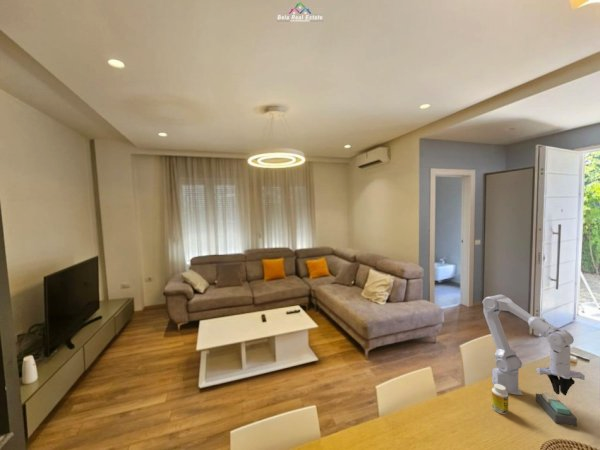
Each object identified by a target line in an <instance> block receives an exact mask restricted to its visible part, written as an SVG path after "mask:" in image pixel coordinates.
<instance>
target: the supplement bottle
mask: <svg viewBox="0 0 600 450" xmlns="http://www.w3.org/2000/svg"><path fill="white" fill-rule="evenodd" d="M491 407H492V409H493V410H494V411H495V412H497V413H498V414H501V415H507V414H508V413H509V393H507V392H506V388H505V387H504V386H503V385H501V384H493V387H492V388H491Z"/></svg>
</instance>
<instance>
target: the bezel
mask: <svg viewBox="0 0 600 450" xmlns="http://www.w3.org/2000/svg"><path fill="white" fill-rule="evenodd" d="M536 399H537V400H538V402H539V403H540V404H541V405H542V406H543V407H544V408H545V410H546V411H547V412H548V413H549V414H550V415H551V416H552V417H553V419H554V420H555V421H560V422H567V423H573V424H577V425H578V418H577V417H576V415H574V413H572V412H571V411H570V415H567V414H559V413H556V412H555V410H554V409H553V408H552V407H551V406H550V404H549V403H547V401H546V400H545V399H544V398H543V397H542V393H535V400H536Z"/></svg>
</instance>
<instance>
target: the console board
mask: <svg viewBox="0 0 600 450" xmlns="http://www.w3.org/2000/svg"><path fill="white" fill-rule="evenodd" d="M535 401H536V402H537V404H538V405H539V406H540V407H541V408H542V410H543V411H544V412H545V413H546V414H547V415H548V416H549V417H550V419H551V420H552V421H553V423H555V424H559V425H565V426H571V427H578V423H577V424H573V423H567V422H560V421H555V420H554V419H553V417H552V416H551V415H550V414H549V413H548V412H547V411H546V410H545V408H544V407H543V406H542V405H541V404H540V403H539V402H538V400H537V399H536V398H535ZM549 404H550V403H549ZM555 412H556V411H555ZM556 413H557V412H556ZM559 414H561V413H559Z"/></svg>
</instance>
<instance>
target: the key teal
mask: <svg viewBox="0 0 600 450" xmlns="http://www.w3.org/2000/svg"><path fill="white" fill-rule="evenodd" d="M550 406H551V407H552V408H553V409H554V410H555V411H556V412H557V413H561V414H567V415H570V412H571V411H570V409H569V408H568V407H567V406H566V405H565V403H563V402H561V401H560V402H554V401H550Z"/></svg>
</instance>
